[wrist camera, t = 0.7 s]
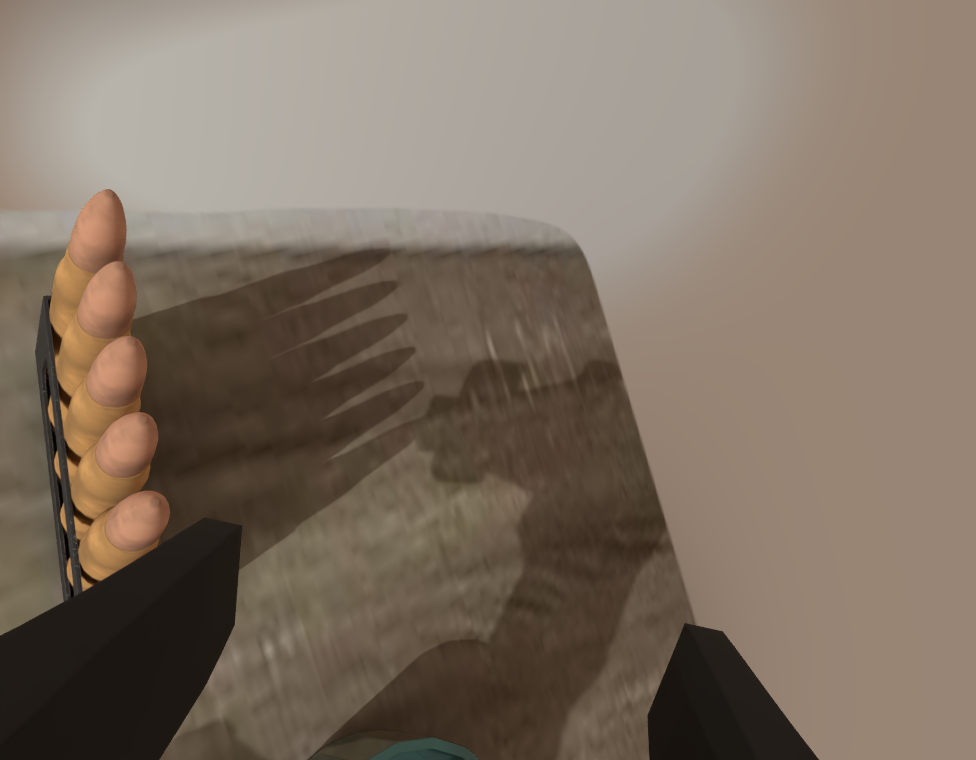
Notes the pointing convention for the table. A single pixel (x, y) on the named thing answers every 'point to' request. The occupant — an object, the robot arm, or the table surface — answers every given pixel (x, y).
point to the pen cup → (392, 748)
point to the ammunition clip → (96, 405)
